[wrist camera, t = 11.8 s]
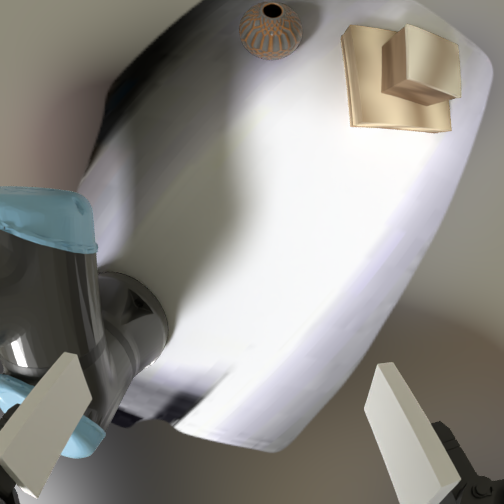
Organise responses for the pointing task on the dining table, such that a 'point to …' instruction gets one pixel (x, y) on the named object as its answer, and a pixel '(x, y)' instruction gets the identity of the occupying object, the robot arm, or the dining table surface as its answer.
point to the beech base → (369, 88)
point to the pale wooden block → (420, 67)
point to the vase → (270, 30)
